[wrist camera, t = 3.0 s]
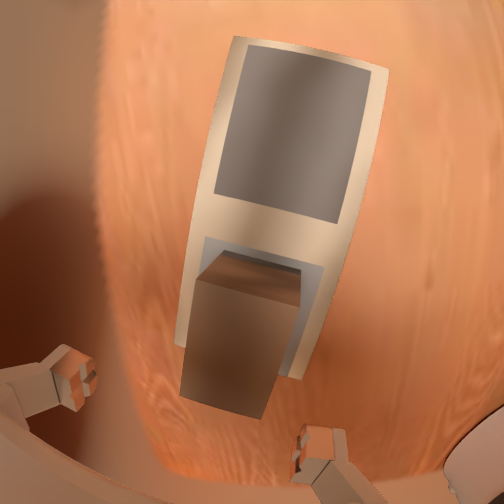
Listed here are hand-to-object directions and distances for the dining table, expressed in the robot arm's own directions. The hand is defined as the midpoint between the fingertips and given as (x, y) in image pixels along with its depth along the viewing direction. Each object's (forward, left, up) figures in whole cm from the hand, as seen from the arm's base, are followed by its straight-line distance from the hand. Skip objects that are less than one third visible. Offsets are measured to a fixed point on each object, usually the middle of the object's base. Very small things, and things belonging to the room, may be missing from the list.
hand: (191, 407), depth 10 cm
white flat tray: (-1, -6, -10) cm, 12 cm away
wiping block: (-1, 0, -9) cm, 9 cm away
